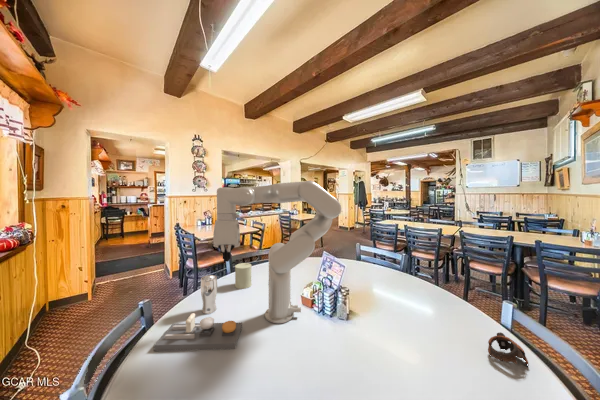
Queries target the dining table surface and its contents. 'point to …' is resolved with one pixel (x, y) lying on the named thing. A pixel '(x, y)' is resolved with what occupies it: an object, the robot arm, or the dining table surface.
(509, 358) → the brown looped piece
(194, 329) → the lever
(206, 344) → the panel
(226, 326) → the orange button
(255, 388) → the dining table surface
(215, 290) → the tall white cup
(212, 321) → the white rounded thick disc
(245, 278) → the can
